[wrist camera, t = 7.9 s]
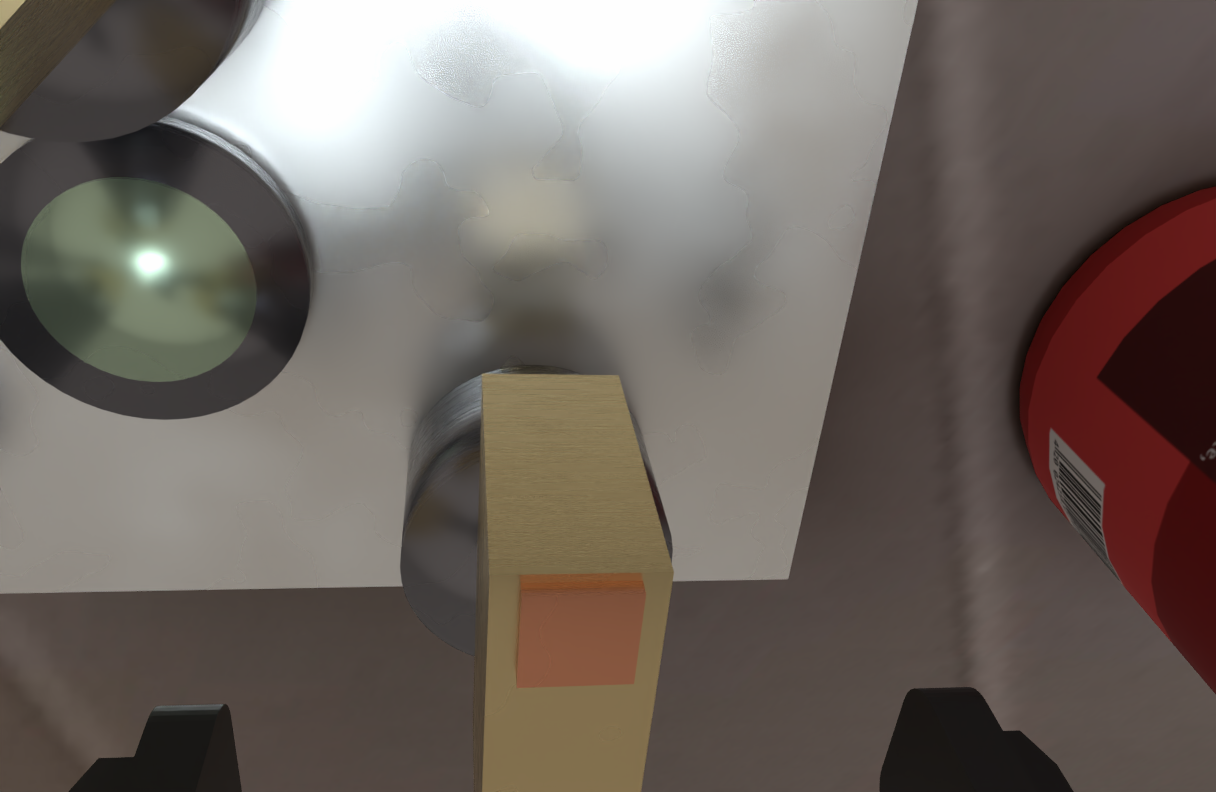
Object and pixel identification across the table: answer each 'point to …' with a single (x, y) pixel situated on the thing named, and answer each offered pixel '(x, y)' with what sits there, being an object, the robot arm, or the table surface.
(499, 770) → the knob
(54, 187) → the level plate
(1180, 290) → the canned food
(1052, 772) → the robot arm
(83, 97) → the yellow paddle knob
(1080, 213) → the table surface
